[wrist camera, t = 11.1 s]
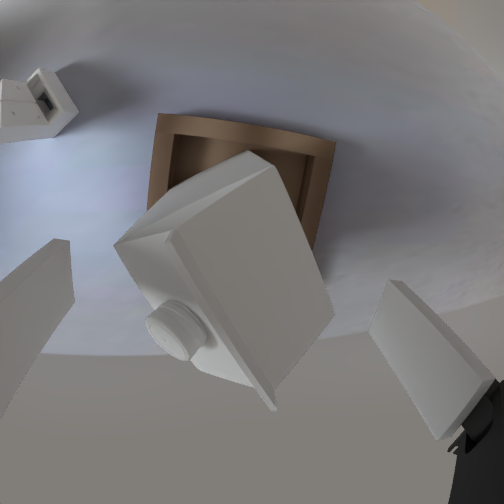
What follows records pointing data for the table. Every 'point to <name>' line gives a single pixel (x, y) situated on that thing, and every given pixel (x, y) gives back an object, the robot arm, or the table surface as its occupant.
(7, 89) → the white angled block
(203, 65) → the table surface
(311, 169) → the square wooden tray
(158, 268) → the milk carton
